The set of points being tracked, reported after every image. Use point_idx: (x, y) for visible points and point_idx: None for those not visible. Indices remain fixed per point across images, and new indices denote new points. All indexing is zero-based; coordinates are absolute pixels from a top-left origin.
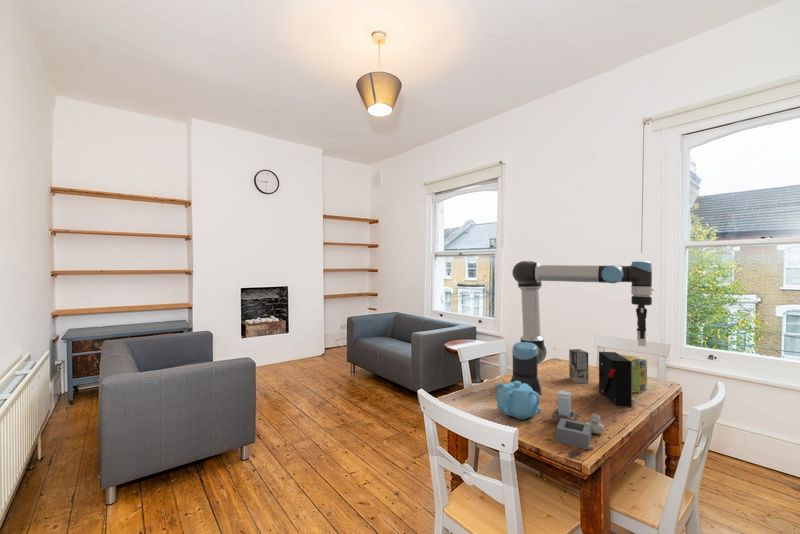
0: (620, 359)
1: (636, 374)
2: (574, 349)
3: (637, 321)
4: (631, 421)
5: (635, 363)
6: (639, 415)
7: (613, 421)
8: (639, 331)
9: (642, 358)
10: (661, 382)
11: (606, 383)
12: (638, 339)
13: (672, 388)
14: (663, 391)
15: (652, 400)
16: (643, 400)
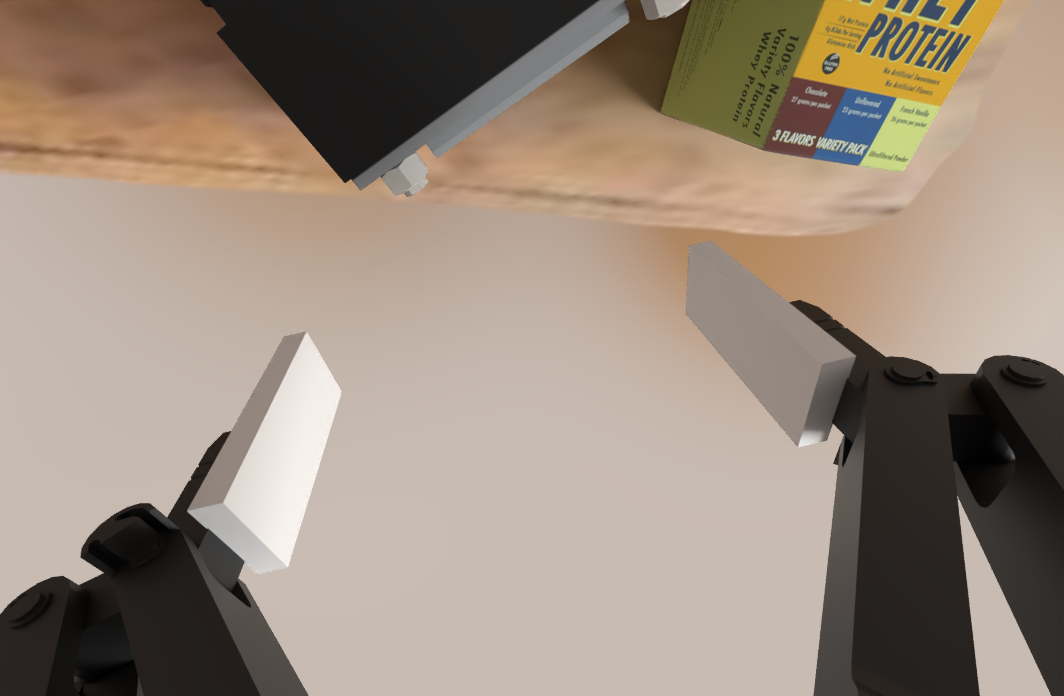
0: (342, 68)
1: (716, 106)
2: None
3: (1051, 396)
4: (175, 162)
5: (765, 109)
6: (300, 176)
7: (66, 84)
8: (203, 513)
9: (898, 141)
10: (912, 169)
11: None
12: (253, 395)
13: (821, 225)
14: (755, 201)
15: (579, 184)
16: (550, 149)
